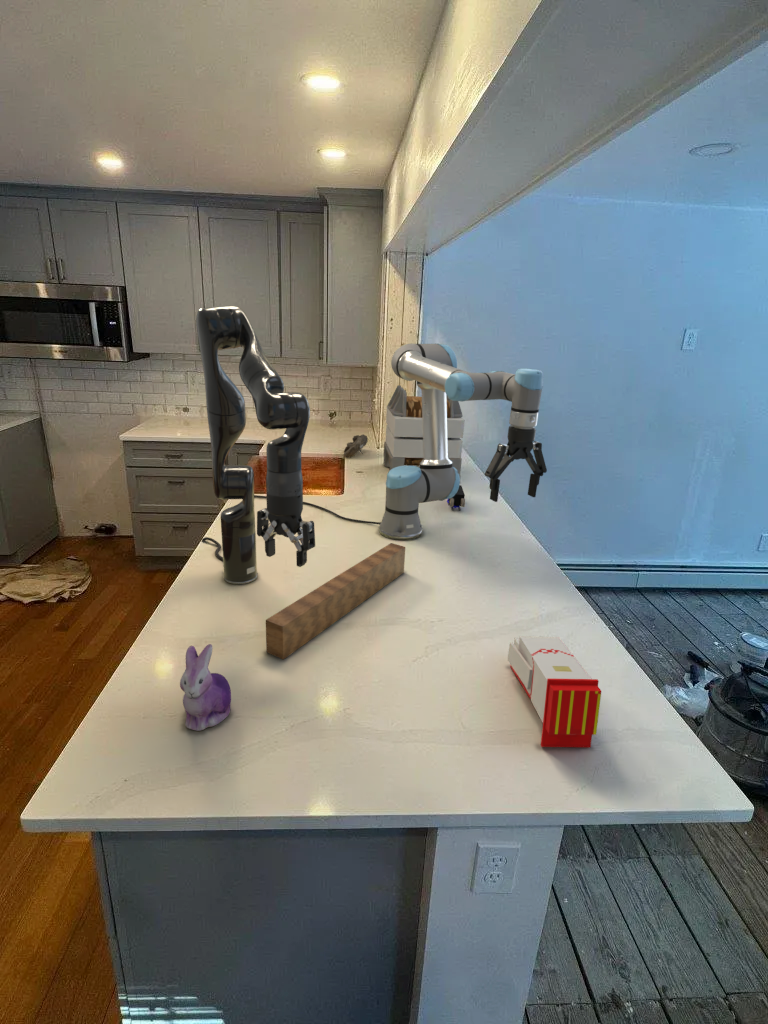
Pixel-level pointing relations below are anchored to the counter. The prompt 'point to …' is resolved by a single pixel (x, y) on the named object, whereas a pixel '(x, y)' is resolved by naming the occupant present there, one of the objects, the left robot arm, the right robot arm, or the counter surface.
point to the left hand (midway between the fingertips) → (285, 560)
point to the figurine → (204, 691)
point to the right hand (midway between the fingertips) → (512, 498)
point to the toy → (557, 690)
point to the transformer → (417, 431)
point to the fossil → (355, 445)
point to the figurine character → (457, 499)
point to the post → (332, 601)
